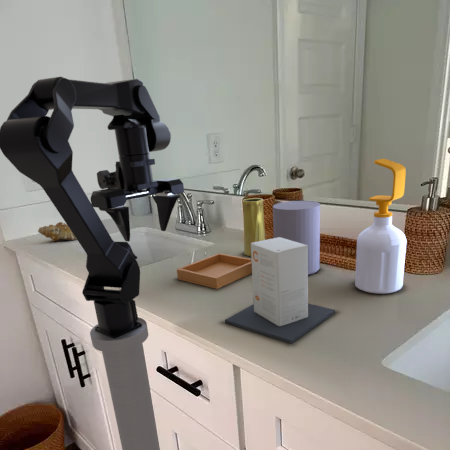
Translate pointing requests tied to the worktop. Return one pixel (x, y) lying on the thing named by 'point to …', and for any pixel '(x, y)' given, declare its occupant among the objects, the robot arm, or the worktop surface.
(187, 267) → the tray
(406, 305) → the worktop surface
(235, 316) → the mat
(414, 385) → the worktop surface
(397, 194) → the soap bottle
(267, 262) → the small box
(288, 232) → the container
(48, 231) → the seashell
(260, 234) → the vase
